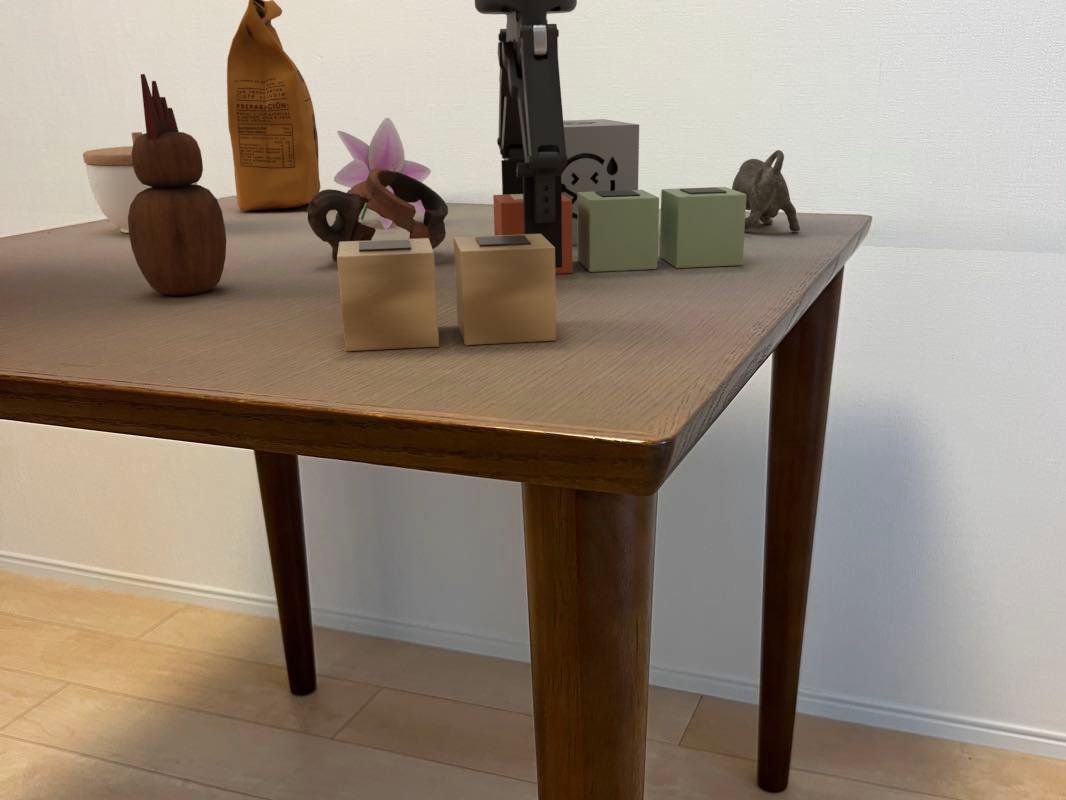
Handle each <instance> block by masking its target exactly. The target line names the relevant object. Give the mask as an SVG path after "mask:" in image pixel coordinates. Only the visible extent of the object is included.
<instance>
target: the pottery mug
mask: <svg viewBox="0 0 1066 800" xmlns="http://www.w3.org/2000/svg"><path fill="white" fill-rule="evenodd" d="M387 186H390V187H391V188H392V190H393V192H394V194H393V193H391V192H390V191H389V190H388V189H386V188H385V187H387ZM419 200H421V202H422V204H423V206H424V209H425V214H424V216H423V221H422V222H423V223H422V222H420V221H417V220H415V219H414V217H415V216H416V214H417V213H416V210H415V207H414V206H413V205H411V204H409V203H415V202H417V201H419ZM366 202H369V203H368V204H367V206H366V207H367V210H371V211H373V212H375V213H377V215H378V216H379V215H380V216H382V217H383V218H386V219H389V220H392V221H393V222H392V223H393V224H395V225H396V226H397V227H399V228H401V229H403V230H406V231H407V232H408V233H409V238H408V239H421V238H428V239H429V241H430V243H431V246H432V249H433V250H435V248H438V246H439V245H440V244H442V243H443V241H444V240H445V238H446V236H447V231H446V225H445V221H444V220H445V218H446V217H447V216H448V215H449V207H448V205H447V204H446V201H445V200H444V199H443V198H442V197H441V195H440V194H438V193H437V192H436V191H434V189H433V188H431V187H429V186H428V185H426V184H425V183H423V181H422V182H420V181H418V180H416V179H414V178H412V177H409V176H407V175H405V174H402V173H399V172H396V171H391V170H388V169H382V168H377V169H372V170H371V171H370V172H369V174H368V177H367V180H366V181H363V182H361V183H359V184H357V185H354V186H353V187H352V188H349V189H348V190H347V192H345V191H342V190H338V189H331V188H328V189H322V190H321V191H319V193H317V194H316V195H315V196H314V197H313V198H312V200H311V202H310V203H308V207H307V209H306V211H307V221H308V224H309V227H310V228H311V230H312V232H313V233H314V234H315V235H316V237H317V238H318V239H320V240H321V241H322V242H325V243H328V245H330V247H331V250H332V251H331V259H332V260H334V261H337V254H338V246H339V242H345V241H371V240H373V237H374V236H375V233H376V232H377V229H376V227H373V226H368V225H367V224H363V223H362V222H360V221H359V220H360V215H361V214H362V212H363V210H364V207H365V205H366ZM407 202H408V203H407ZM331 211H336V214H335V219H334V221H333V224H332V225H330V224H329V221H328V217H327V216H328V213H329V212H331Z"/></svg>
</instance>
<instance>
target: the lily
mask: <svg viewBox="0 0 1066 800" xmlns="http://www.w3.org/2000/svg"><path fill="white" fill-rule="evenodd" d="M337 135H338V137H339V138H340V140H341V142H342V143H343V145H344V146H345V148H346V150H347V151H348V153H349V154H350V156H351V157H352V159H353V160H351V161H349V162H348V163H347V164H345V166H343V167H342V168H341V169H340V170H338V172H337V173H336V174H335V176H334V177H333V182H335V183H336V184H338V185H340V186H343V187H346V188H349V189H351V188H352V187H353V186H354V185H357V184H359V183H361V182H363V181H366V180H367V177H368V174H369V172H370V171H371V170H372V169H377V168H382V169H388V170H391V171H396V172H399V173H402V174H405V175H407V176H409V177H412V178H414V179H416V180H418V181H420V182H422V183H423V182H424V181H425V180H426V179H427V178H428V177H430V175H431V173H432V170H431V168H429V167H427V166H425V165H424V164H421V163H419V162H416V161H412V160H408V159H406V157H405V149H404V146H403V142H402V140H401V137H400V134H399V132H398V130H397V128H396V126H395V123H394V122H393V121H392V119H390V118H389V117H385V118H384V119H383V120H382V121H381V123H380V124H379V126H378V127H377V129H376V130H375V132H374V134H373V136H372V139H371V141H370V143H369V144H367V143H366V142H365V141H363V140H362V139H360V138H358V137H357V136H355V135H352V134H350V133H348V132H345V131H341V130H337ZM385 188H386V189H388V190H389V191H390V192H391V193H393V194H394V192H393V190H392V188H391V187H390V186H387V187H385ZM368 203H369V202H366V203H365V205H364V208H363V209H362V212H361V216H360V220H361V221H363V220H364V218H365V215H366V213H367V210H368V208H367V207H366V206H367V204H368ZM407 203H408V202H407ZM409 204H411V205H413V206H414V207H415V210H416V213H415V214H419V215H421V216H423V217H424V214H425V209H424V206H423V204H422V202H421V200H419V201H417V202H415V203H409ZM378 217H379V219H380V222H381V225H382V226H383V228H384V229H385V230H387V229H389V227H390V226H391V225H392V223H394V222H393V221H392V220H389V219H386V218H383V217H382V216H380V215H379V214H378Z"/></svg>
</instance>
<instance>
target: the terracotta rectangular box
mask: <svg viewBox="0 0 1066 800" xmlns="http://www.w3.org/2000/svg"><path fill="white" fill-rule="evenodd" d="M492 197H493V225H494V226H493V227H494V230H493V231H494V236H495V235H520V234H524V206H523V194H505V195H502V194H493V196H492ZM558 274H559V275H560V274H573V245H572V200H570V199H569V198H567V197H566V196H564V195H563V194H562V267H559V268H555V275H558Z"/></svg>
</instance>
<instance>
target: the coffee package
mask: <svg viewBox="0 0 1066 800" xmlns="http://www.w3.org/2000/svg"><path fill="white" fill-rule="evenodd" d="M247 4H248V5H247V6H246V10H245V11H244V14H243V16H242V17H241V21H240V22H239V23H238V24H239V25H238V27H237V30H236V32H235V34H234V36H233V38H232V40H231V44H230V48H229V51H228V55H227V59H226V62H227V64H226V100H227V101H226V104H227V106H226V107H227V125H228V133H229V138H230V144H231V149H232V160H233V169H234V170H233V171H234V183H235V193H236V200H237V206H238V209H239V210H240V211H247V212H253V211H271V210H286V209H296V208H299V207H301V206H302V207H303V206H304V205H307V204H308V205H309V203H310V202H311V200H312V198H313V197H314V196H315V195H316V194H317V193H319V192H320V190H321V186H322V185H321V181H320V168H319V166H320V165H319V137H318V130H317V124H316V115H315V110H314V106H313V105H314V103H313V101H312V97H311V94H310V91H309V88H308V85H307V83H306V81H305V78H304V77H303V75H302V73H301V71H300V70H299V68H298V67H297V65H296V63H295V62H294V61H293V59H291V57H290V56H289V55H288V54H287V53H286V52H285V51H284V47H283V44H282V42H281V40H280V37H279V35H278V32H277V29H276V28H275V27H274V26H273V25H272V20H274V19H276V18H279V17H281V16H282V14H283V9H282V8H281V7H280V5H278V4H277V2H275V1H274V0H248V2H247Z"/></svg>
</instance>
